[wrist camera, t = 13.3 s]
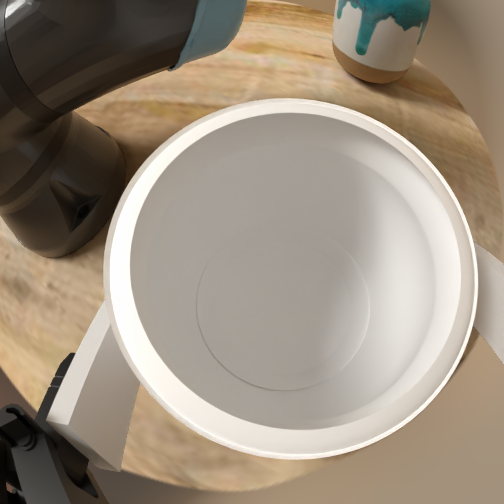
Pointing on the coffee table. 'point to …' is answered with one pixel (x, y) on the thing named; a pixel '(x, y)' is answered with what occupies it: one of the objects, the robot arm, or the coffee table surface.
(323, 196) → the jar
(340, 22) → the vase
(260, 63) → the coffee table surface
